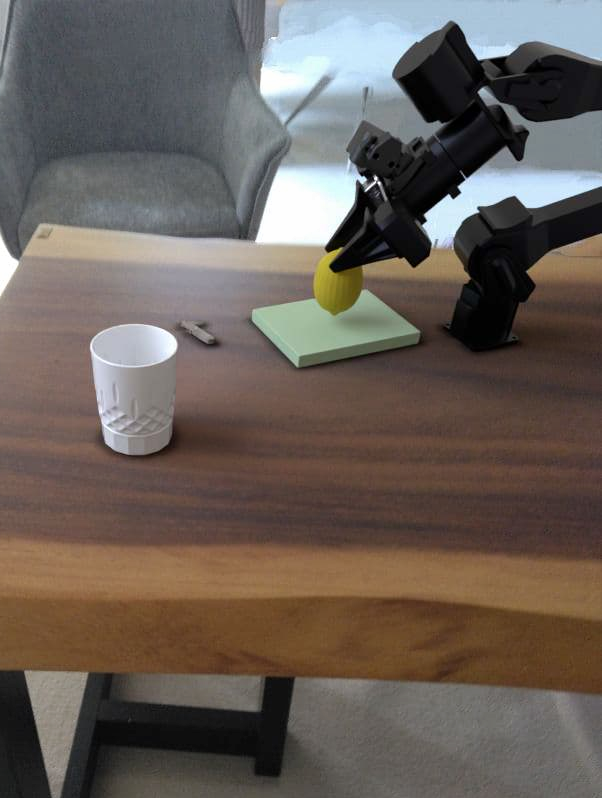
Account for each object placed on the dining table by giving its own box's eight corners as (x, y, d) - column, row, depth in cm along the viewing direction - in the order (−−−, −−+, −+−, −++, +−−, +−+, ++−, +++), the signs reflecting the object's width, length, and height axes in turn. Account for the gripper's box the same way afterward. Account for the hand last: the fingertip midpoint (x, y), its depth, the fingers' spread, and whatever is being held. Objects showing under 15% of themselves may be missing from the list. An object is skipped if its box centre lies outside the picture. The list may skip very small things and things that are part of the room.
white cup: (116, 468, 74) (110, 374, 67) (85, 425, 79) (77, 334, 72) (191, 447, 77) (193, 354, 70) (156, 406, 82) (155, 317, 75)
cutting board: (364, 300, 101) (366, 289, 100) (418, 343, 93) (421, 331, 92) (251, 320, 96) (252, 309, 95) (297, 368, 88) (299, 356, 87)
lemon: (326, 330, 90) (335, 261, 85) (301, 309, 94) (308, 243, 88) (367, 320, 92) (378, 253, 87) (340, 301, 96) (349, 235, 90)
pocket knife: (227, 336, 92) (207, 339, 91) (226, 342, 93) (206, 346, 91) (197, 317, 96) (177, 320, 94) (196, 323, 96) (177, 326, 94)
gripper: (389, 71, 84) (277, 178, 92) (421, 121, 70) (286, 242, 78) (447, 151, 89) (337, 246, 97) (488, 212, 75) (355, 317, 83)
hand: (329, 260), depth 88 cm, fingers closed on lemon, 4 cm apart
